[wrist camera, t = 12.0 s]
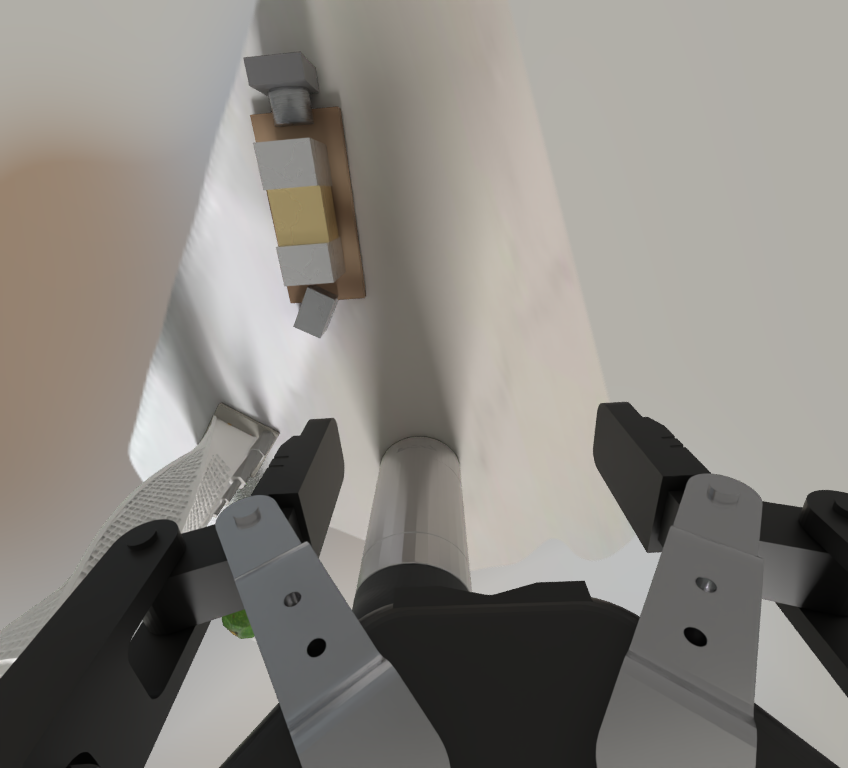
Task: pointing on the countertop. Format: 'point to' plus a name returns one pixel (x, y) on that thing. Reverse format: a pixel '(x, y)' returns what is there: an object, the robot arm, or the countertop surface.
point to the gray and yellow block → (302, 209)
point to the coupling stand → (294, 119)
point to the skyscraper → (163, 507)
